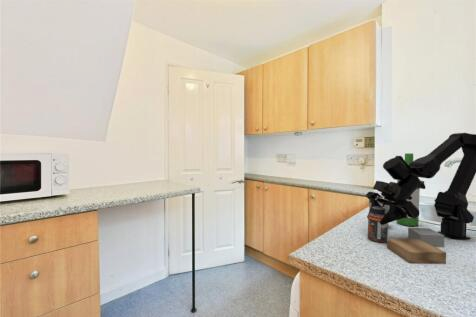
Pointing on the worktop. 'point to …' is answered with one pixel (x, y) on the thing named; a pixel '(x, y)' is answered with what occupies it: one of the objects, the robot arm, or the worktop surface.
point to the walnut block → (416, 251)
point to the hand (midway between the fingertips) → (374, 221)
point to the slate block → (427, 236)
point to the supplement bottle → (377, 225)
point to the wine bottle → (414, 200)
